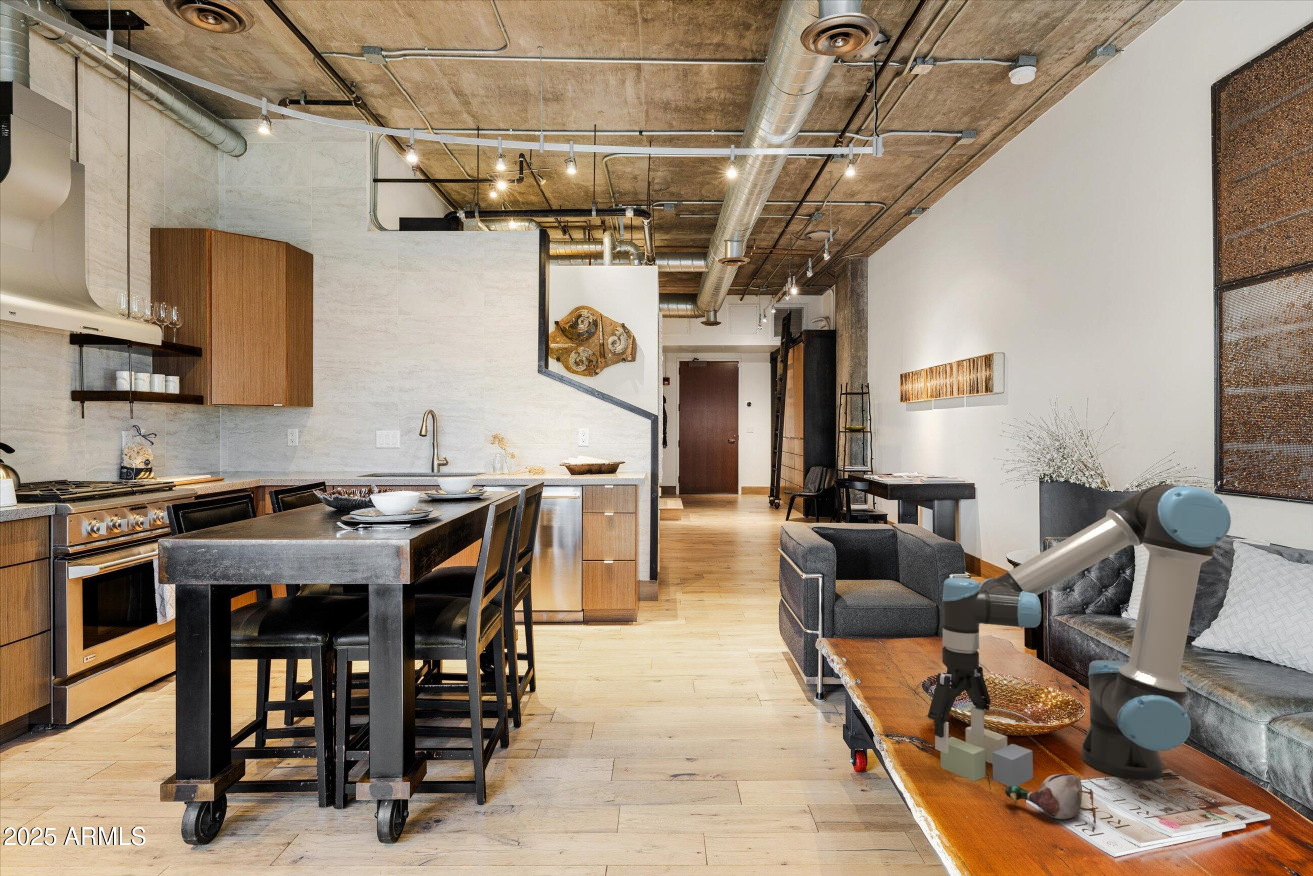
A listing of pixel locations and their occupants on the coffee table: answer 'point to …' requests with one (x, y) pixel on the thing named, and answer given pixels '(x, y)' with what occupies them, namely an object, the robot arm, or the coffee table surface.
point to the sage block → (964, 759)
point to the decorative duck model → (1055, 796)
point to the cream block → (987, 742)
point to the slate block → (1012, 765)
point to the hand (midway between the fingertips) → (960, 744)
